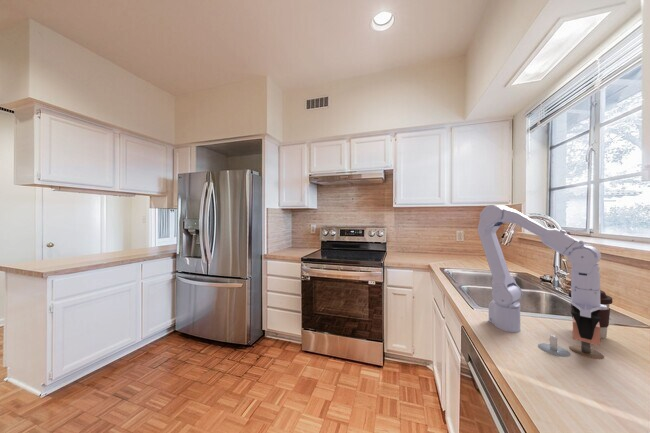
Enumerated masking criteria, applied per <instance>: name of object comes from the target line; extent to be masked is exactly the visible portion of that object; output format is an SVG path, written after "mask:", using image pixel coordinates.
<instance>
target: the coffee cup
mask: <svg viewBox="0 0 650 433" xmlns="http://www.w3.org/2000/svg"><path fill="white" fill-rule="evenodd" d="M567 294H568V297H569V298H571V290H569V291H568V293H567ZM600 304H601V305H606V306H607V309H600V312H599V313H598V314H597V316H599V317H601V320H600V321H599V325H600V339H607V338H608V336H607V335H608V327H609V326H610V317H611V316H610V314H611V309H610V305H611V304H613V297H611V296H610V295H607V294H606V292H605V291H604V290H601V289H600ZM570 309H571V310H574V308H573V307H572V304H571V303H570ZM574 311H575V310H574ZM571 317H572V320H573V316H572V315H571Z"/></svg>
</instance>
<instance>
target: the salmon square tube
mask: <svg viewBox="0 0 650 433" xmlns="http://www.w3.org/2000/svg"><path fill="white" fill-rule="evenodd" d="M572 340H576V341H580V342H581V341H583V342H587V343H590V344H591V345H596V346H601V338H600V325H599V322H598V323H597V325H596V327H595V329H594V334H593V337H592V339H591V340H589V339H585V338H581V337H580V334H579V331H578V326H577V323H576V321H575V319H574V317H573V319H572Z"/></svg>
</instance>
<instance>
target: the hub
mask: <svg viewBox="0 0 650 433" xmlns="http://www.w3.org/2000/svg"><path fill="white" fill-rule="evenodd" d="M580 343H581V345H575V344H574V345H569V346H568V349H569V350H570V351H572V353H574V354H577V355H579V356H581V357H584V358H588V359H593V360H603V359H605V355H604V354H603V353H601V352H600V351H598V350H596V349H593V348H591V346H592V344H591V343H587V342H583V341H580Z"/></svg>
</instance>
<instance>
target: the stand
mask: <svg viewBox="0 0 650 433" xmlns="http://www.w3.org/2000/svg"><path fill="white" fill-rule="evenodd" d="M537 348H538V349H540V351H543V352H544V353H546V354H549V355H552V356H557V357H562V358H563V357H564V358H568V357H570V356H571V352H570V351H569V350H568V349H565V348H564V347H561V346H558V336H557V335H555V334H549V343H545V342H544V343H538V344H537Z"/></svg>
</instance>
